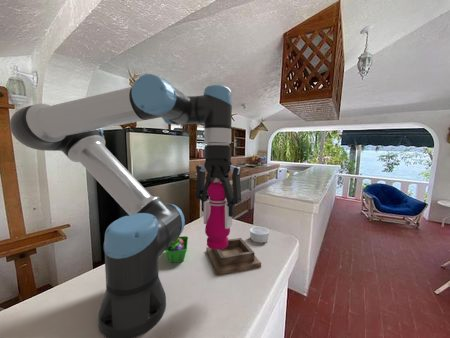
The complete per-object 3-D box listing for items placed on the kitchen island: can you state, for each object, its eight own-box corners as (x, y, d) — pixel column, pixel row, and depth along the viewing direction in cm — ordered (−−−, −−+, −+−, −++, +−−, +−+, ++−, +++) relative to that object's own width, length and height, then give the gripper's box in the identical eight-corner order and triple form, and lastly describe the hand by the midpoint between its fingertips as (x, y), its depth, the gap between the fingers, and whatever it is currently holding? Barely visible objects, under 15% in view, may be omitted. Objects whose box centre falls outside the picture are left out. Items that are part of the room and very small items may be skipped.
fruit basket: (187, 263, 71) (187, 233, 70) (161, 265, 69) (161, 234, 68) (188, 247, 82) (188, 221, 81) (166, 249, 81) (165, 222, 80)
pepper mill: (234, 243, 59) (235, 176, 57) (220, 253, 53) (220, 179, 51) (215, 237, 63) (215, 174, 61) (200, 245, 57) (199, 177, 55)
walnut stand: (217, 274, 64) (217, 261, 64) (206, 251, 80) (206, 240, 79) (261, 266, 69) (261, 254, 69) (242, 245, 85) (243, 235, 84)
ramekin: (269, 244, 86) (269, 235, 86) (248, 242, 88) (249, 233, 88) (268, 236, 95) (269, 227, 95) (250, 234, 97) (250, 225, 96)
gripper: (255, 144, 54) (253, 226, 56) (197, 145, 63) (198, 215, 65) (244, 144, 47) (243, 236, 49) (182, 144, 56) (183, 222, 59)
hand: (217, 224), depth 57 cm, fingers closed on pepper mill, 6 cm apart
